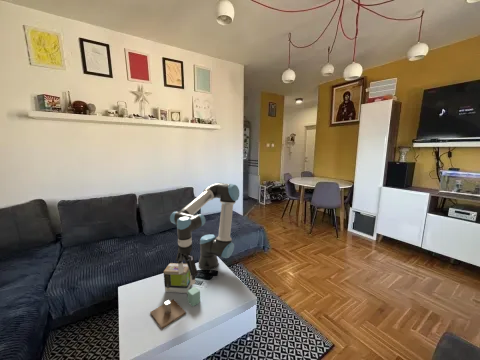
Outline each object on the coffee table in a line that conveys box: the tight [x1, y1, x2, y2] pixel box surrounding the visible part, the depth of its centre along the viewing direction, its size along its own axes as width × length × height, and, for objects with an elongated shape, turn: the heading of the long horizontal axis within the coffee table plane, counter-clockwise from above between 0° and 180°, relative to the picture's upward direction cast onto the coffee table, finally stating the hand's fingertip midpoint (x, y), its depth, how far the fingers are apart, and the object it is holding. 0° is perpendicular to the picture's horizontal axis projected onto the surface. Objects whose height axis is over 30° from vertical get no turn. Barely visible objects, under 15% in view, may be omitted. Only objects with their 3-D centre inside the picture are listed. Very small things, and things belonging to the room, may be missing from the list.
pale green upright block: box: [187, 286, 201, 307], centre depth 124 cm, size 5×5×8 cm
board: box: [150, 298, 187, 330], centre depth 116 cm, size 14×14×1 cm
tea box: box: [163, 262, 192, 294], centre depth 136 cm, size 15×10×15 cm, turn 84°
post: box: [163, 299, 171, 314], centre depth 116 cm, size 3×3×6 cm
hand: (186, 278), depth 121 cm, fingers open, 13 cm apart
